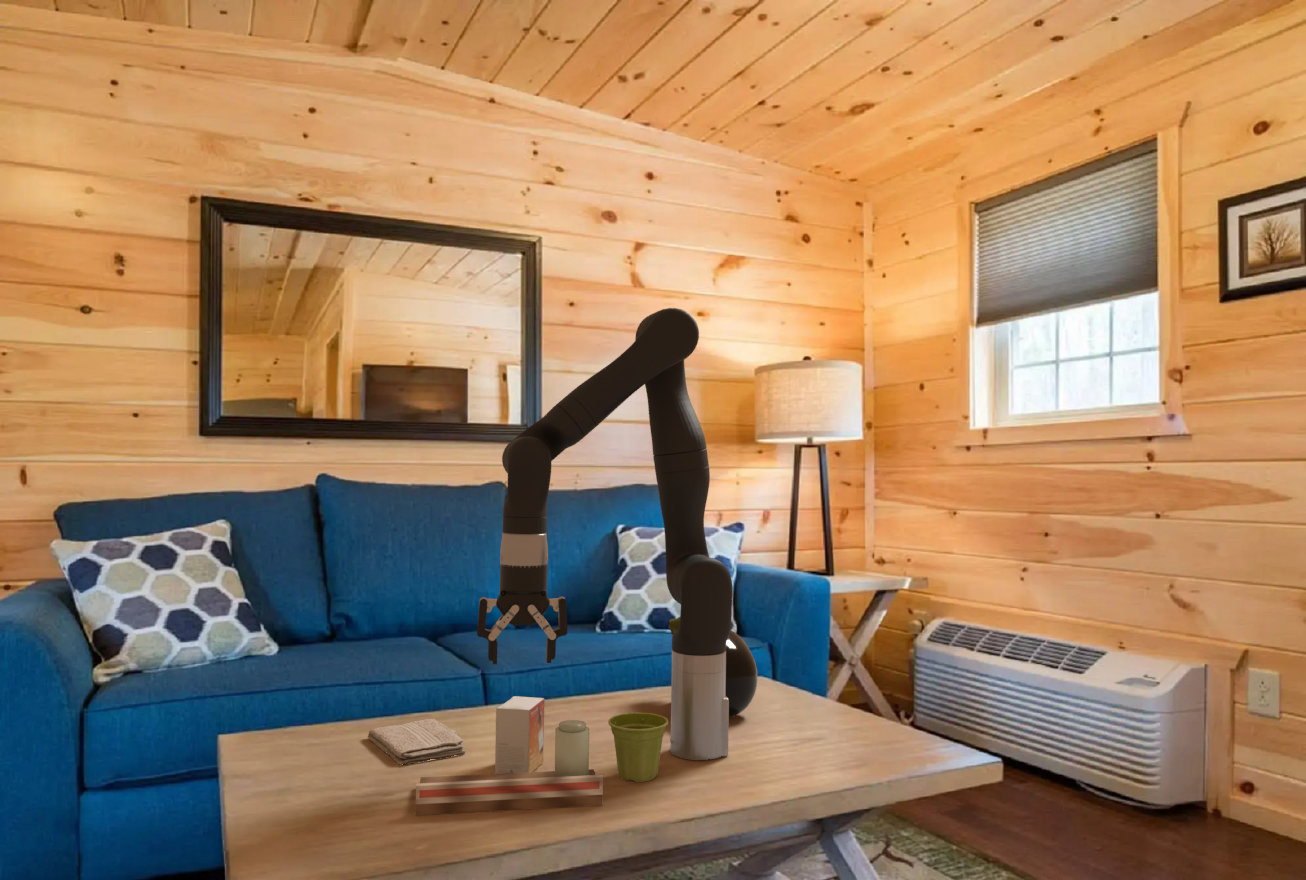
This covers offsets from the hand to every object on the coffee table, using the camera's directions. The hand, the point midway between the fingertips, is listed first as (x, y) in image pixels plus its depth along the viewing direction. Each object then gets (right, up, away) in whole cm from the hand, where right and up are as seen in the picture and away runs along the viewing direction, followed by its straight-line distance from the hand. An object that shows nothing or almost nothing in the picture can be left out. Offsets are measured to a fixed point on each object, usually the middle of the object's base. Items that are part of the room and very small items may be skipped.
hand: (521, 662), depth 148 cm
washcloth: (-19, -17, +10) cm, 28 cm away
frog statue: (+32, -18, +37) cm, 52 cm away
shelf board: (0, -17, -13) cm, 21 cm away
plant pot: (+19, -17, -3) cm, 25 cm away
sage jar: (+9, -15, -11) cm, 21 cm away
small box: (0, -17, 0) cm, 17 cm away
